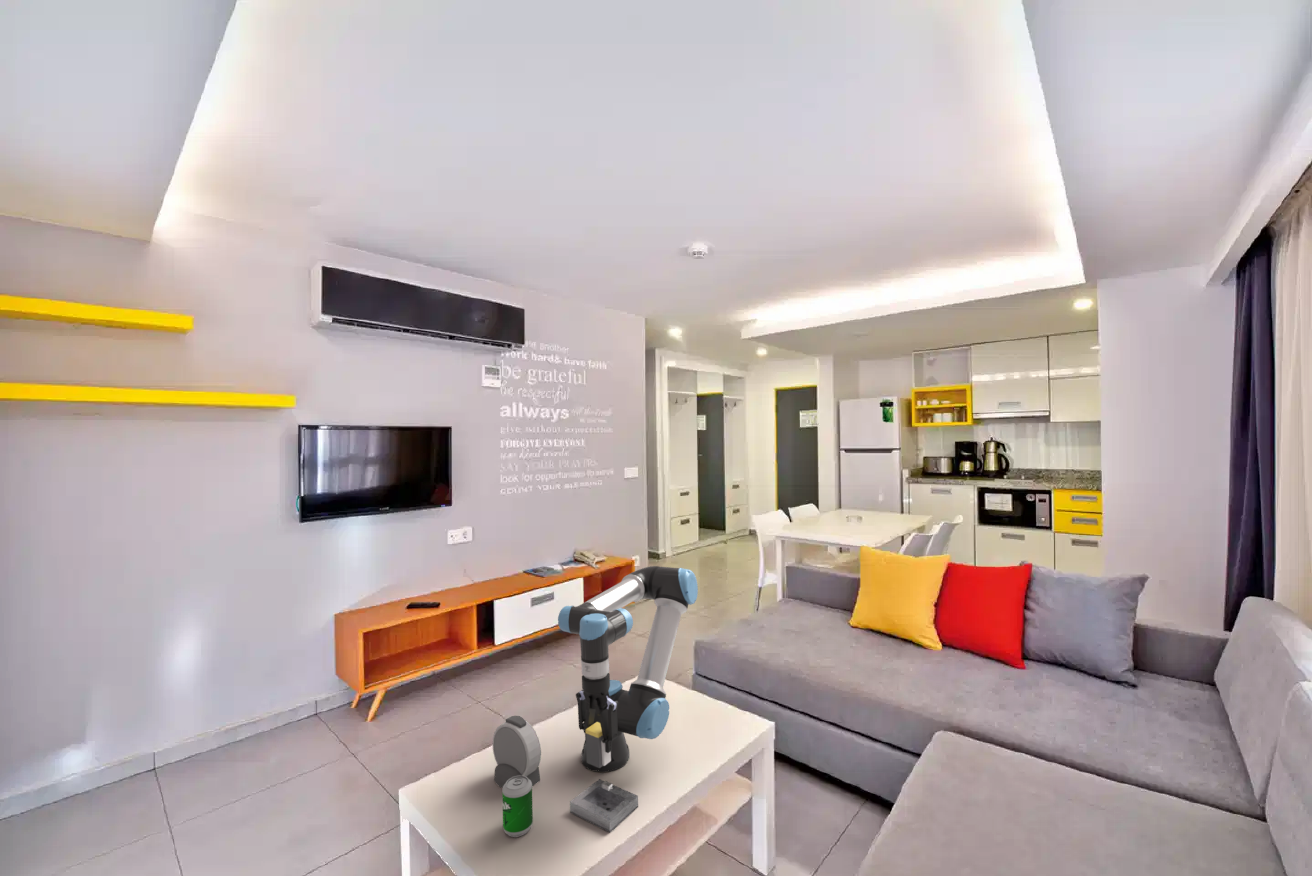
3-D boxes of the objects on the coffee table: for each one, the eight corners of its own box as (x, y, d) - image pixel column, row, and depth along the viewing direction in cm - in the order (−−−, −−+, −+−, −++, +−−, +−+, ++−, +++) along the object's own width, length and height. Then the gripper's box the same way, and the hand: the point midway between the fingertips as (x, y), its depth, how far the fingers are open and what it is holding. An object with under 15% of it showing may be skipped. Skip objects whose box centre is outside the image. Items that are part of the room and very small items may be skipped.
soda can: (535, 818, 144) (534, 773, 144) (529, 838, 137) (528, 790, 137) (507, 820, 144) (506, 774, 144) (499, 840, 136) (498, 792, 137)
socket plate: (570, 812, 146) (569, 799, 146) (599, 789, 156) (599, 776, 156) (609, 832, 138) (609, 818, 138) (638, 807, 148) (637, 793, 148)
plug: (586, 762, 145) (585, 729, 145) (598, 754, 149) (597, 721, 149) (599, 768, 143) (598, 734, 143) (610, 759, 146) (609, 726, 146)
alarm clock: (548, 779, 161) (547, 718, 162) (522, 798, 153) (521, 733, 153) (512, 763, 170) (511, 705, 171) (485, 780, 162) (484, 718, 162)
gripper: (562, 671, 148) (565, 756, 148) (611, 687, 138) (615, 778, 138) (581, 662, 154) (584, 743, 154) (629, 675, 144) (633, 763, 144)
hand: (599, 759), depth 146 cm, fingers closed on plug, 5 cm apart
